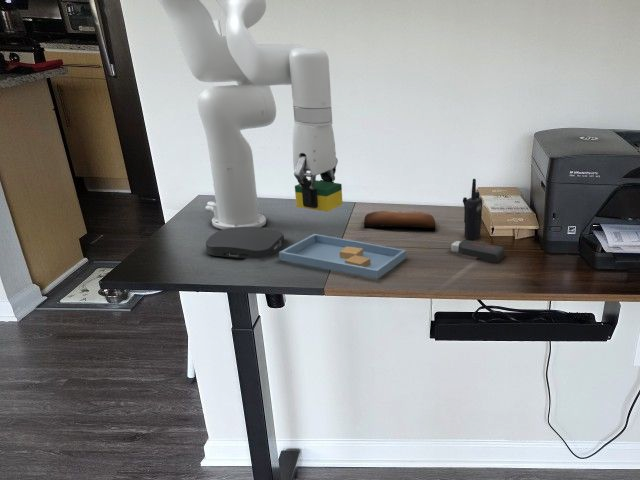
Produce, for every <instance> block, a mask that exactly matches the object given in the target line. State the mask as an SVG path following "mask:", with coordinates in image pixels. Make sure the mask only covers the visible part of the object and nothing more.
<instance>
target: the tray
mask: <svg viewBox="0 0 640 480" xmlns="http://www.w3.org/2000/svg"><path fill="white" fill-rule="evenodd" d="M346 246H349V247H356V248H363V255H362V256H361V257H366V258H370V261H371V265H369V266H367V267H362V266H357V265H351V264H346V263H345V260H346V258H340V254H339V252H340V251H341V250H342V249H344V248H345V247H346ZM278 255H279V261H282V262H287V263H292V264H297V265H303V266H308V267H314V268H318V269H324V270H328V271H334V272H338V273H339V272H340V273H345V274H350V275H355V276H361V277H366V278H371V279H375V280H378V279H379V278H382V277H383V276H384V275H385V274H386V273H388V272H389V271H391V270H392V269H394V268H395V267H396V266H397V265H399V264H400V263H401V262H403V261H404V260H405V259H407V249H402V248H396V247H391V246H386V245H380V244H374V243H369V242H363V241H357V240H352V239H347V238H340V237H336V236H329V235H325V234H320V233H319V234H318V233H313V234H311V235H309V236H306V237H305V238H303V239H302V240H299V241H298V242H296V243H294V244H292V245H290V246H287V247H286V248H284V249H283V250H282V249H281V250H280V251H279V252H278Z"/></svg>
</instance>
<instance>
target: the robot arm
mask: <svg viewBox="0 0 640 480" xmlns="http://www.w3.org/2000/svg"><path fill="white" fill-rule="evenodd" d="M158 1H159V3H160V5H161V6H162V8H163V11H165V13H166V15H167V16H168V18H169V21H170V22H171V24H172V27H173V30H174V33H175V35H176V37H177V40H178V43H179V45H180V48H181V51H182V53H183V55H184V57H185V58H184V59H185V61H186V63H187V65H188V68H189V70H190V72H191V74H192V76H193V77H194V78H195V79H196V80H197V81H200V82H203V83H230V82H236V83H237V84H231V85H230V84H229V85H217V86H211V87H208V88H206V89H204V90H202V92H201V93H200V94H199V96H198V99H197V110H198V114H199V117H200V120H201V123H202V126H203V129H204V132H205V137H206V142H207V148H208V156H209V161H210V168H211V177H212V183H213V184H212V185H213V190H214V191H213V192H214V198H215V201H207V204H206V205H205V207H204V210H205V212H209V213H213V217H212V218H211V224H212V226H213V227H214V228H216V229H219V230H222V229H227V228H234V227H262V228H263V227H264V226H265V225H266V224H267V217H266V216H265V215H263V214H260V212H259V203H258V202H259V201H258V194H257V193H258V192H257V183H256V174H255V165H254V155H253V150H252V147H251V145H250V143H249V142H248V140H247V139H246V138H245V137H244V135H243V134H242V131H243V130H244V131H245V130H249V129H256V128H264V127H268V126H270V125H272V124H273V123H274V122H275V120H276V116H277V106H276V101H275V97H274V95H273V91H272V88H271V87H272V86H288V85H289V86H291V96H292V97H291V98H292V107H293V109H292V110H293V120H294V124H293V127H292V128H293V129H292V165H293V171H294V172H293V176H294V177H295V179H296V180H297V183H298V184H300V188H302V198H303V206H304V207H310V208H317V207H318V202H317V189H314V187H315V180H317V176H319V175H320V178H321V179H320V180H319V181H325V182H332V183H335V180H336V176H335V174H336V172H337V166H338V163H339V159H338V158H337V151H336V143H335V134H334V129H333V128H334V127H333V112H332V111H333V109H332V93H331V92H332V91H331V90H332V89H331V77H330V75H331V74H330V59H329V56H328V53H327V52H326V51H325V50H323V49H319V48H311V47H306V46H303V45H301V44H295V43H258V42H257V41H256V40H255V39H254V37H253V36H252V35H251V33H250V32H249V30H248V29H249V28H251V27H253V26H254V25H256V24H257V23H258V22H259V21H260V20H261V19H262V18H263V16H264V15H265V12H266V10H267V1H266V0H215V1H216V2H217V3H218V5H219V6H220V8H221V10H222V11H223V13H224V14H225V15H226V21H225V28H224V29H225V30H224V31H225V32H224V33H225V35H222V34H220V33H219V32H218V30H217V28H216V25H215V23H214V20H213V17H212V15H211V13H210V11H209V9H207V7H206V6H205V5H204V3H202V1H200V0H158ZM309 180H310V181H309Z"/></svg>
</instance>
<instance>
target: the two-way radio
mask: <svg viewBox="0 0 640 480" xmlns="http://www.w3.org/2000/svg"><path fill="white" fill-rule="evenodd" d="M462 203H463V207H464V213H463V214H464V215H463V216H464V217H463V220H464V221H463V222H464V234H463V235H464V239H466V240H470V241H473V240H476V239H478V238H479V237H480V236H481V231H482V228H481V227H482V216H483V199H482V198H481V196H480V192H479V191H477V179H476V178H472V184H471V197H469V198H468V197H466V196H465V197H462Z"/></svg>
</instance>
